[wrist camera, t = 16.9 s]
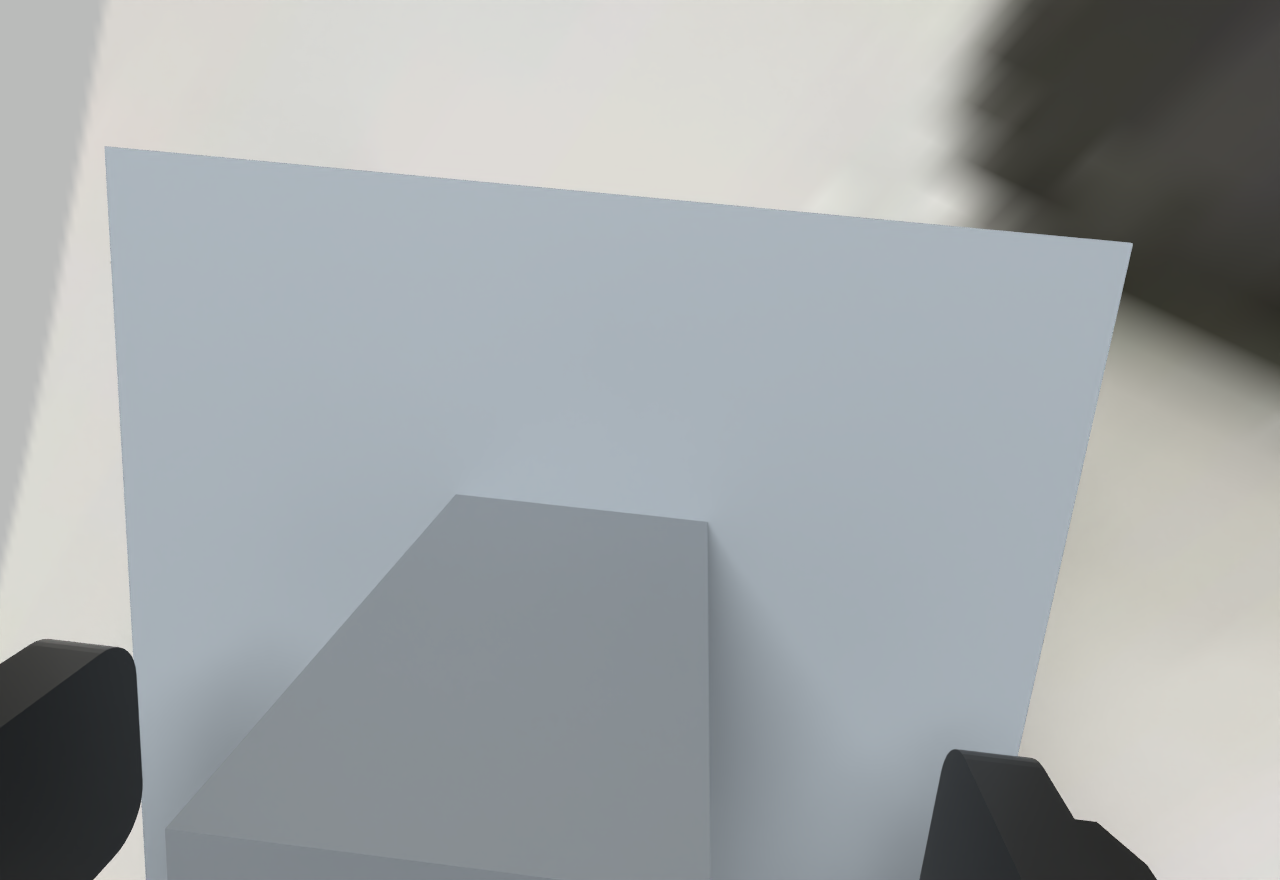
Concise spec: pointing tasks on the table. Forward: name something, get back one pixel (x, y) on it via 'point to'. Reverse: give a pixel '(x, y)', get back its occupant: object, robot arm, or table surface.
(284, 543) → the square plate with knob
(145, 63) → the table surface
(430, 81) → the table surface
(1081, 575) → the table surface
